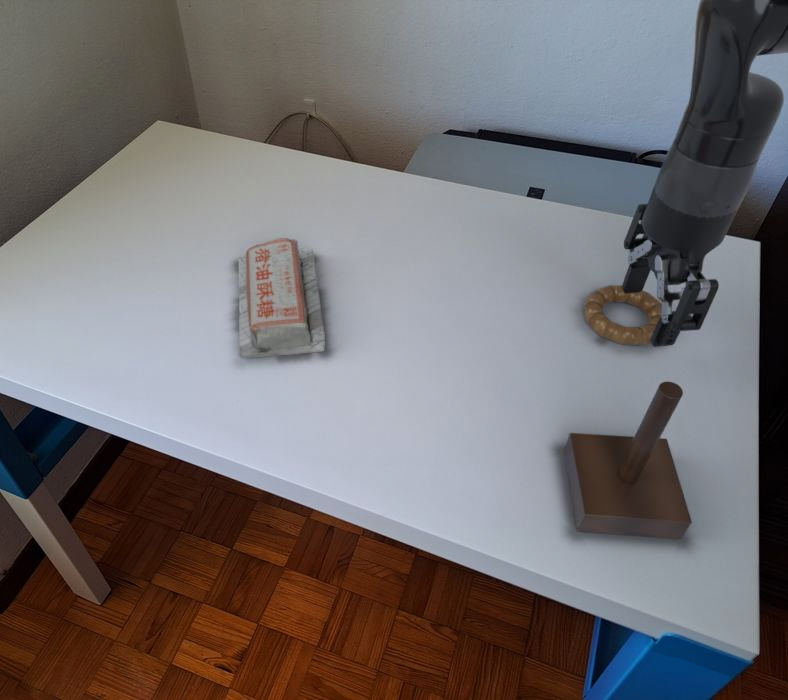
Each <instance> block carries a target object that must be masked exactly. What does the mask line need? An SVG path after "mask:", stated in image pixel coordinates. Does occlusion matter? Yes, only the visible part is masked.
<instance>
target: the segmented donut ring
mask: <svg viewBox="0 0 788 700" xmlns="http://www.w3.org/2000/svg"><path fill="white" fill-rule="evenodd" d="M611 303H627V304H628V305H631V306H634V307H637V308H639V309H640V310H641V311H642V312H643V313H645V314H646V315H647V317H648V321H647V324H644V325H642V326H639V327H638V326H625V325H622V324H619V323H616V322H614V321H612V320H611V319H610V318H608V317H607V316H606V315H605V314H604V309H603V308H604V307H605V306H606V305H608V304H611ZM661 307H662V302H661V300H659V299H658V298H657V297H655V296H654V295H652V294H651V293H650V292H648V291H645V290H644V289H643V290H642V291H641V292H638V293H624V291H623V290H622V285H617V284H616V285H615V284H610V285H607V286H604V287H601V288H597V289H595V290H593V291H592V292H590V294H589V295H588V298H587V299H586V300H585V302H584V304H583V307H582V308H583V313H584V317H585V321H586V324H587V325H588V326H590V328H591V329H592V330H594V331H595V332H596V333H597V334H598V335H599V336H600V337H601V338H604V339H607V340H609V341H612V342H614V343H616V344H619V345H629V346H645V345H647V344H649V343H651V341H650V339H651V337H652V334H653V332H654V330H655V328H656V325H657V323H658V321H659V319H660V317H661Z"/></svg>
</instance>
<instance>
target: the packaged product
mask: <svg viewBox="0 0 788 700" xmlns="http://www.w3.org/2000/svg"><path fill="white" fill-rule="evenodd" d="M314 253H315V252H314V249H313V248H312V247H308V248H302V249H301V248H300V249H299V245H298V240H297V239H294V238H288V237H278V238H275V239H273V240H269V241H266V242H263V243H260V244H256V245H253V246H251V247H249V248H248V249H247V250H246V252H245V255H244V256H238V310H239V314H238V315H239V316H238V317H239V319H238V320H239V321H238V325H239V329H238V330H239V357H240V358H241V359H253V358H264V357H275V356H290V355H300V354H310V353H319V352H325V349H326V348H325V346H326V334H325V328H324V320H323V311H322V304H321V298H320V297H321V296H320V289H319V284H318V275H317V268H316V259H315V254H314Z"/></svg>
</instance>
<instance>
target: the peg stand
mask: <svg viewBox="0 0 788 700" xmlns="http://www.w3.org/2000/svg"><path fill="white" fill-rule="evenodd" d="M683 395H684V390H683V388H682V387H681V386H680V385H679V384H678V383H676V382H673V381H662V382H661V383H659V384H658V387H657V389H656V391H655V393H654V395H653V397H652V399H651V401H650V403H649V405H648V407H647V410H646V412H645V413H644V415H643V418H642V420H641V422H640V424H639V426H638V429H637V430H636V432H635V434H634V436H630V435H629V436H627V435H613V434H612V435H610V434H596V433H595V434H594V433H579V432H577V433H576V432H570V433H569V435H568V438H567V440H566V443H565V446H564V449H563V456H564V462H565V467H566V474H567V479H568V485H569V491H570V498H571V504H572V509H573V515H574V520H575V521H574V522H575V527H576V531H577V532H578V533H587V534H600V535H601V534H602V535H617V536H630V537H644V538H658V539H671V540H681V539H682V538H683V536H684V535H685V533H686V532H687V531H688V529H689V528H690V526H691V525H692V523H693V521H692V518H691V514H690V512H689V511H690V510H689V508H688V505H687V501H686V498H685V494H684V491H683V487H682V484H681V481H680V477H679V474H678V471H677V467H676V465H675V461H674V458H673V454H672V451H671V448H670V444H669V441H668V439H667V438H663V437H662V435H663V433H664V431H665V429H666V427H667V426H668V424H669V422H670V420H671V418H672V416H673V414H674V412H675V410H676V409H677V407H678V405H679V404H680V401H681V399H682V397H683ZM661 437H662V438H661Z"/></svg>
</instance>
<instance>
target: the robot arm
mask: <svg viewBox="0 0 788 700" xmlns="http://www.w3.org/2000/svg"><path fill="white" fill-rule="evenodd" d="M694 28H695V29H694V51H693V61H692V62H693V64H692V71H691V72H692V73H691V82H690V93H689V97H688V101H687V104H686V106H685V109H684V112H683V115H682V117H681V120H680V123H679V125H678V128H677V130H676V133H675V136H674V139H673V141H672V143H671V145H670V147H669V149H668V151H667V152H666V154H665V157H664V158H663V161H662V163H661V166H660V168H659V171H658V174H657V177H656V180H655V182H654V185H653V188H652V191H651V193H650V196H649V199H648V202H647V203H640V204H638V205H637V207H636V210H635V212H634V215H633V217H632V220H631V223H630V225H629V228H628V230H627V233H626V235H625V236H624V237H625V238H624V240H623V248H624V250H629V253H628V254H627V262H628V268H627V270H626V273H625V276H624V279H623V281H622V284H621V286H622V290H623V291H624V293H638V292H641V291H642V290H643V291H644V288H645V285H646V282H647V280H648V278H649V275H650V273H651V272H653V274H654V276H655V277H654V278H655V280H656V299H657V300H658V301H660V302H661V303H662V307H661V317H660V319H659V321H658V323H657V325H656V328H655V330H654V332H653V334H652V337H651V339H650V341H651V342H650V343H651V345H652V346H653V347H655V348H657V347H658V348H659V347H669V346H670V347H671V346H673V345H674V344H675V343H676V341H677V339H678V338H679V335H680V333H681V332H688V331H699V330H701V328H702V327H703V323H704V322H705V320H706V317H707V315H708V312H709V310H710V308H711V306H712V304H713V301H714V299H715V298H716V295H717V292H718V290H719V287H720V285H719V281H718V279H716V278H711V279H707V278H706V277H705V275H704V274H703V273H702V271H703V266H704V260H705V257H706V256H707V255H708V254H709V253H710V252H712V251H713V250H715V249H717V247H718V246H720V245H721V244H722V243H723V242H724V239H725V237H726V236H727V233H728V231H729V229H730V227H731V225H732V223H733V221H734V219H735V217H736V215H737V213H738V211H739V209H740V207H741V204H742V202H743V200H744V198H745V196H746V194H747V192H748V190H749V188H750V186H751V183H752V181H753V179H754V175H755V173H756V169H757V166H758V163H759V160H760V158H761V156H762V153H763V151H764V149H765V148H766V145H767V143H768V141H769V139H770V136H771V135H772V132H773V130H774V129H775V126H776V124H777V122H778V120H779V117H780V115H781V112H782V109H783V106H784V102H785V97H784V91H783V89H782V88H781V86H780V85H779V84H778V83H777V82H776V81H774V80H773V79H771V78H770V77H767V76H764V75H762V74H759V73H755V72H751V68H752V64H753V63H754V61H755V59H757V58H756V57H759V56H768V55H769V56H770V55H779V54H788V0H699V4H698V7H697V11H696V17H695V27H694ZM639 235H642V237H637V236H639ZM684 283H685V286H684V287H681V289H680V290H677V291H676V290H675V291H670V290H669V286H680V285H683V284H684ZM674 301H678V303H677V306H676V309H675V310H673V302H674Z"/></svg>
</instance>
